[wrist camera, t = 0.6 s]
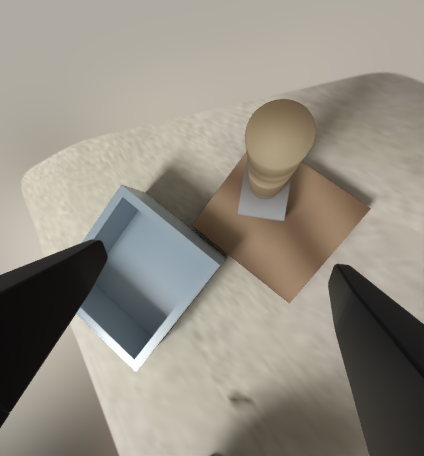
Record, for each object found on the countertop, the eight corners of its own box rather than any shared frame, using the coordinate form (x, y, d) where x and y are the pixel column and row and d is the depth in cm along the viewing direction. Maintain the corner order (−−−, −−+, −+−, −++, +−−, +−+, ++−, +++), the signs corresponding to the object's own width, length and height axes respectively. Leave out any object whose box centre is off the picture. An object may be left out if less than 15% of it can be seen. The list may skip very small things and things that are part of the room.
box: (157, 345, 24) (135, 372, 20) (85, 278, 26) (50, 288, 21) (226, 257, 23) (219, 265, 18) (145, 192, 24) (121, 184, 20)
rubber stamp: (281, 221, 20) (319, 212, 9) (239, 215, 21) (221, 199, 9) (291, 157, 20) (344, 59, 8) (248, 153, 21) (242, 59, 9)
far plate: (287, 299, 21) (289, 303, 20) (194, 225, 23) (191, 225, 22) (363, 209, 20) (370, 208, 19) (259, 138, 22) (260, 133, 21)
